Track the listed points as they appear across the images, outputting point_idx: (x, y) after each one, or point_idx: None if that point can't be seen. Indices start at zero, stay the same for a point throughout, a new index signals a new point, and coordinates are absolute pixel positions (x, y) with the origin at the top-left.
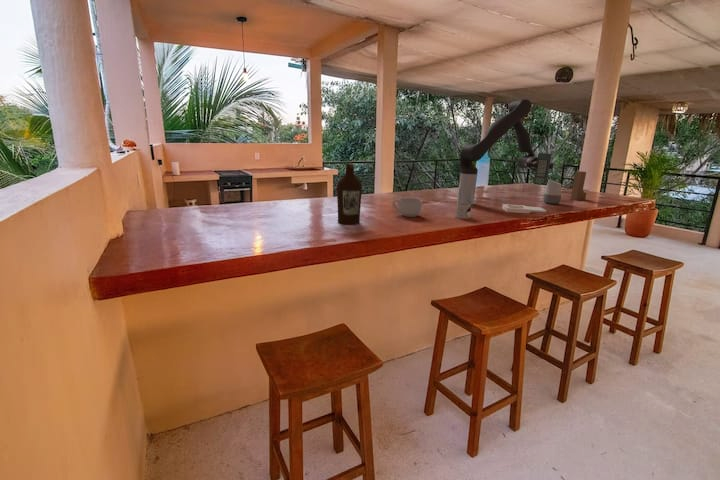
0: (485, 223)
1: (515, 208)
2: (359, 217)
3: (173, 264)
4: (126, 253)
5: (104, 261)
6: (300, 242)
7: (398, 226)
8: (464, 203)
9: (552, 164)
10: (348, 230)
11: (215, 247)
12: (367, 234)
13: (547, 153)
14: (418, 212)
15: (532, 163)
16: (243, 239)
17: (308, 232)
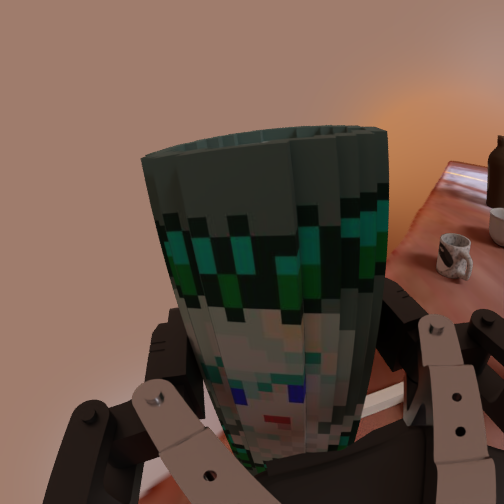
0: (392, 258)
1: (384, 393)
2: (490, 200)
3: (452, 165)
4: (477, 166)
5: (469, 163)
6: (455, 180)
7: (458, 211)
8: (463, 247)
9: (104, 408)
10: (469, 195)
11: (469, 172)
12: (449, 194)
13: (188, 152)
14: (489, 232)
15: (444, 322)
16: (478, 177)
17: (477, 188)
